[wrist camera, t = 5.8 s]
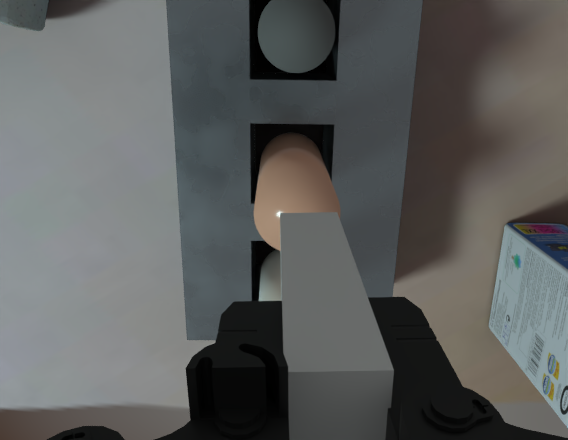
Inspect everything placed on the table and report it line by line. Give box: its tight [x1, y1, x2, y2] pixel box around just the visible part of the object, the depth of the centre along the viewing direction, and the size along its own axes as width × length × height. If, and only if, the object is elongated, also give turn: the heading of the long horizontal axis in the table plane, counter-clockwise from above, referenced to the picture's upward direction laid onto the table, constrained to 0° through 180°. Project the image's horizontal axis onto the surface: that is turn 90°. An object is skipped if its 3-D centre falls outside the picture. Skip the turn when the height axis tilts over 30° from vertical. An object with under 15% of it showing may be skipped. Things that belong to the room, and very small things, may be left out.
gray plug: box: [258, 0, 335, 73], centre depth 28 cm, size 4×4×10 cm
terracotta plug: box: [254, 133, 340, 251], centre depth 26 cm, size 4×4×10 cm
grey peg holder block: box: [166, 0, 423, 340], centre depth 33 cm, size 14×25×7 cm, turn 179°
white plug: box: [259, 249, 281, 301], centre depth 28 cm, size 4×4×10 cm
